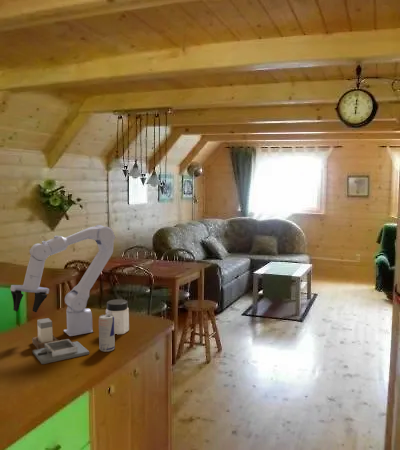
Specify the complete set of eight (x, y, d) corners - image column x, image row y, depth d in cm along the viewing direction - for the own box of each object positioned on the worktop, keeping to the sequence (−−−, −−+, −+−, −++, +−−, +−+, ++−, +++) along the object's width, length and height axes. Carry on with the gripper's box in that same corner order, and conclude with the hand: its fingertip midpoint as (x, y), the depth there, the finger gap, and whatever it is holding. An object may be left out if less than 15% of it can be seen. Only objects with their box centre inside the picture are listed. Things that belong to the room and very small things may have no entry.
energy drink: (117, 347, 167) (116, 315, 166) (109, 352, 162) (109, 319, 161) (104, 345, 169) (103, 313, 168) (96, 350, 164) (95, 317, 163)
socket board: (77, 343, 171) (77, 336, 171) (89, 354, 161) (88, 345, 161) (32, 352, 162) (32, 344, 162) (42, 364, 152) (41, 355, 152)
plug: (49, 341, 174) (48, 318, 173) (52, 345, 170) (52, 321, 169) (38, 343, 171) (37, 319, 171) (41, 347, 167) (40, 323, 166)
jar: (106, 335, 180) (105, 305, 179) (105, 329, 188) (105, 299, 187) (129, 333, 182) (129, 303, 181) (128, 327, 190) (127, 298, 189)
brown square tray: (52, 339, 176) (51, 334, 176) (58, 345, 169) (58, 340, 169) (32, 343, 172) (32, 337, 172) (38, 349, 165) (38, 344, 165)
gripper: (45, 275, 182) (37, 309, 181) (10, 271, 171) (1, 307, 171) (55, 279, 177) (46, 314, 177) (19, 275, 166) (10, 312, 166)
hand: (25, 311), depth 173 cm, fingers open, 7 cm apart
